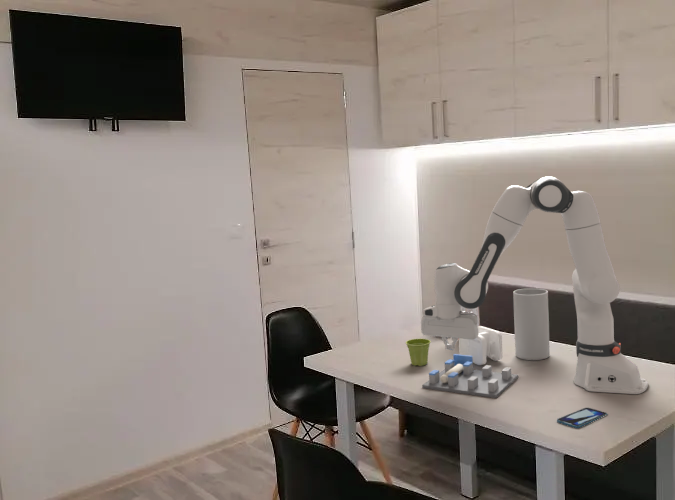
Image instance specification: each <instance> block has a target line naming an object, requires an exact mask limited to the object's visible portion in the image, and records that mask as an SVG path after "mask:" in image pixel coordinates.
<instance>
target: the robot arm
mask: <svg viewBox="0 0 675 500" xmlns="http://www.w3.org/2000/svg"><path fill="white" fill-rule="evenodd" d="M538 209H539V210H540V211H542V212H544V213H553V214H554V213H556V214H560V215H561V219H562V221H563V226H564V231H565V236H566V241H567V245H568V250H569V254H570V256H571V258H572V261H573V264H574V267H575V268H574V270H573V272H572V275H571V282H572V283H571V284H572V288H573V289H572V290H573V298H574V305H575V311H576V319H577V322H576V323H577V340H576V342H575V343H576V344H575V350H576V351H575V352H576V357H577V360H576V361H577V362H576V369H575V374H574V378H573V383H574V384H575V385H576V386H578V387H581V388H583V389H584V390H585V391H587V392H596V393H597V392H598V393H614V394H628V395H639V394H642V393H644V392H645V391H647V389H648V388H649V384H648V380H647V379H645V378H643V377H641V373H640V369H639V367H638V365H637V364H636V363H635V362H633V361H632V360H630V359H629V358H628V357H626V356H625V354H622V353H621V349H622V347H621V342H619V343H618V342H617V341H615V338H614V337H615V336H614V335H615V332H614V331H615V330H614V327H615V326H614V322H615V321H614V316H613V315H614V314H613V312H612V307H611V303H612V302H614V301H615V300H616V299H617V298H618V296H619V294H620V289H621V288H620V284H619V281H618V278H617V276H616V272H615V269H614V266H613V263H612V260H611V257H610V254H609V252H608V249H607V245H606V241H605V236H604V231H603V227H602V222H601V217H600V214H599V210H598V207H597V204H596V202H595V200H594V198H593V195H591V193H589V192H587V191H583V190H575V191H570V189H569V188H568V187H567V186H566V185H565V184H564V183H563V181H562V180H560V179H559V178H557V177H555V176H550V175H549V176H542V177H540V178H538V179H537V180H535V181H533V182H532V183H530V184H529V185H527V186H526V187H523V186H521V185H514V184H513V185H510V186H507V187H506V189H504V191H503V192H502V193H501V195H500V197H499V198H498V199H497V201H496V203H495V204H494V207H493V209H492V210H491V213H490V214H489V217H488V220H487V223H486V225H485V229H484V233H483V234H484V235H483V238H482V243H481V248H480V251H479V253H478V255H477V257H476V259H475V260H474V263H473V265H472V267H471V269H470V270H468V269H466V268H464V267H462V266H460V265H459V264H458V263H454V262H453V263H452V262H450V263H445V264H442V265H440V266H438V267H437V268H436V269H435V271H434V276H433V277H434V279H433V280H434V281H433V284H434V285H433V287H434V289H433V290H434V293H435V300H434V305H431V306H428V307H426V308H424V309H422V312H421V313H422V315H423V316H422V318H421V321H420V332H421V334H422V335H423V336H430V337H441V341H442V343H443V344H444V347H445V350H450V351H454V350H455V349H456V344H457V342H458V341H459V340H458V338H461V339H472V340H474V339H475V338H477V337H478V335H479V333H478V326H477V322H478V321H477V316H476V314H474V313H473V312H465V311H461V306H462V307H464V308H468V309H474V308H477V307H479V308H480V306H482V305H483V303H484V302H485V300H486V296H487V292H488V291H489V281H488V280H489V278H490V277H491V274H492V272H493V270H494V268H495V265H496V264H497V262H498V260H499V259H500V258H501V256H502V255H503V253H504V252H505V251H506V249H508V248H509V246H510V245H511V244H512V243H513V242H514V240H516V237H517V236H518V235H519V233H520V232H521V230H522V228H523V227H524V224H525V222H526V220H527V218H528V217H529V215H530V214H531V212H533V211H534V210H538ZM449 338H451V341H452V343H449V341H448V339H449Z"/></svg>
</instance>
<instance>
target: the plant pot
mask: <svg viewBox="0 0 675 500" xmlns="http://www.w3.org/2000/svg"><path fill="white" fill-rule="evenodd" d="M431 343H432V341H431V340H430V339H428V338H413V339H412V338H411V339H408V340H406V341H405V344H406V347H407V348H408V353H409V357H410V362H411V365H412V366H419V367H423V366H426V365H427V364H428V362H429V348H430V344H431Z"/></svg>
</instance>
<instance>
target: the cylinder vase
mask: <svg viewBox="0 0 675 500" xmlns="http://www.w3.org/2000/svg"><path fill="white" fill-rule="evenodd" d="M512 294H513V298H512V299H513V317H514V318H513V319H514V323H513V324H514V347H515V349H514V350H515V357H516V358H519V359H521V360H525V361H541V360H544V359H547V358H549V357H550V321H549V319H550V318H549V291H548V290H547V289H543V288H534V287H533V288H521V289H520V288H519V289H516V290H514V291H513V293H512Z"/></svg>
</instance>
